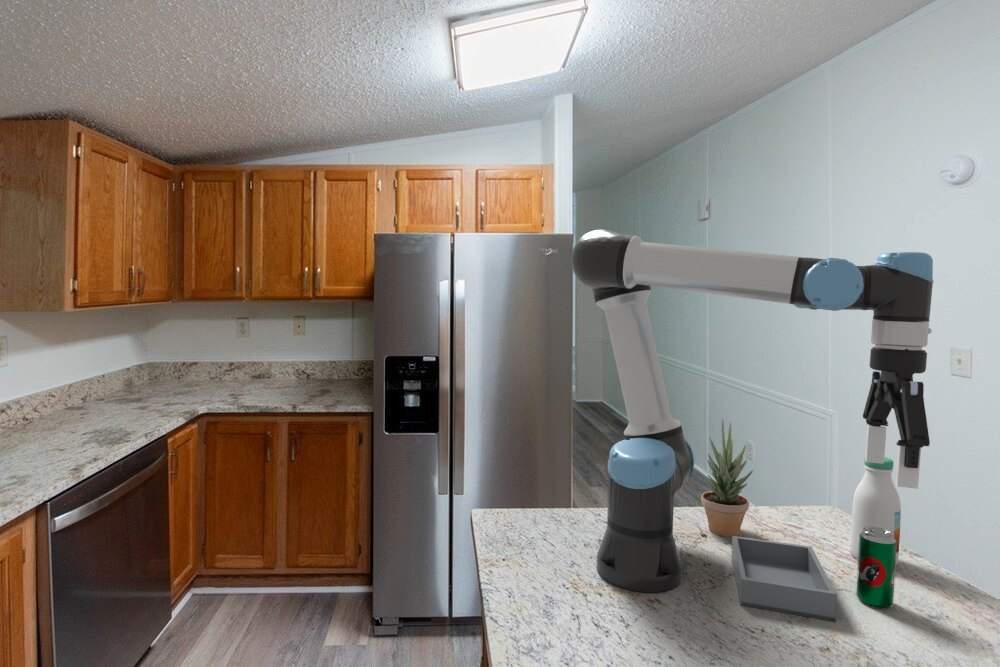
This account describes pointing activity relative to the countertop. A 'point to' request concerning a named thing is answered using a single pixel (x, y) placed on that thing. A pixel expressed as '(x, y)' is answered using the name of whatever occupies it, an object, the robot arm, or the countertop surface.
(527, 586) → the countertop surface
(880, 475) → the milk bottle
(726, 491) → the potted plant
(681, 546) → the countertop surface
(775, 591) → the bin
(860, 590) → the soda can
